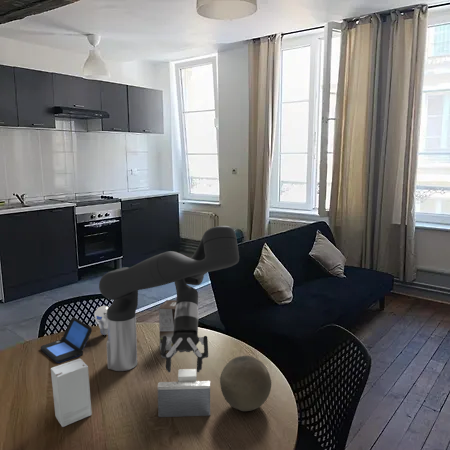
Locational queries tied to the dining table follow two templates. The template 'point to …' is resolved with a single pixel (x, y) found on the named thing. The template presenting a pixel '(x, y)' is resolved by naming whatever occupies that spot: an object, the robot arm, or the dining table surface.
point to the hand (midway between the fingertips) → (183, 371)
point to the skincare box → (71, 392)
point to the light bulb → (102, 319)
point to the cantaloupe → (245, 383)
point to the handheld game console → (69, 342)
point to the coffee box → (167, 321)
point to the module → (187, 375)
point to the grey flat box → (184, 398)
